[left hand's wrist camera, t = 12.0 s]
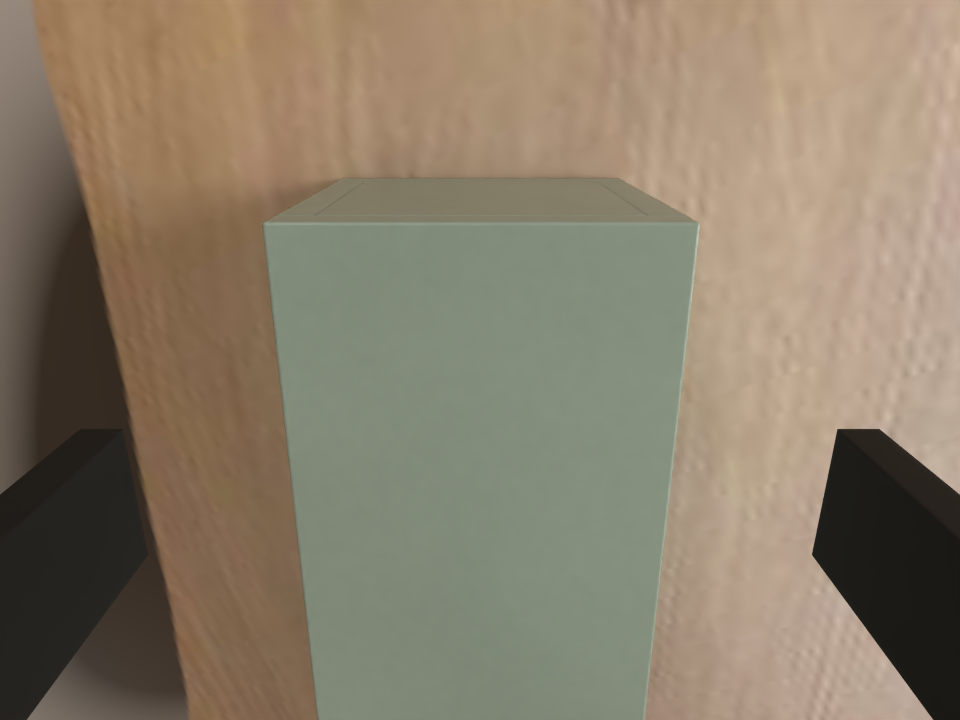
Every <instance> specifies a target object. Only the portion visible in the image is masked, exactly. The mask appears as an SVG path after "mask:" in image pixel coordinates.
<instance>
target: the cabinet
mask: <svg viewBox="0 0 960 720" xmlns="http://www.w3.org/2000/svg"><path fill="white" fill-rule="evenodd" d="M699 229H700V224H699V222H697V221H695V220H693V219H692V218H690V217H688V216H687V215H685V214H683V213H681V212H679V211H678V210H676V209H674V208H672V207H670V206H669V205H667V204H665V203H663V202H661V201H659V200H658V199H656V198H654V197H652V196H650V195H648V194H647V193H645V192H643V191H641V190H639V189H637V188H636V187H634V186H632V185H630V184H628V183H627V182H625V181H623V180H622V179H620V178H342V179H340V180H338V181H337V182H336V183H334V184H332V185H330V186H329V187H327V188H325V189H323V190H321V191H319V192H318V193H316V194H314V195H312V196H310V197H309V198H307V199H305V200H303V201H301V202H300V203H298V204H296V205H294V206H292V207H291V208H289V209H287V210H285V211H283V212H281V213H280V214H278V215H276V216H275V217H273V218H271V219H269V220H267V221H265V222H264V223H263V234H264V243H265V252H266V261H267V270H268V279H269V288H270V297H271V306H272V315H273V324H274V333H275V342H276V351H277V360H278V369H279V378H280V387H281V396H282V405H283V414H284V423H285V432H286V441H287V450H288V459H289V468H290V477H291V486H292V495H293V504H294V513H295V522H296V531H297V540H298V549H299V558H300V567H301V576H302V585H303V594H304V603H305V612H306V620H307V629H308V638H309V647H310V656H311V665H312V674H313V683H314V692H315V701H316V710H317V719H318V720H644V718H645V710H646V701H647V692H648V683H649V674H650V665H651V656H652V647H653V638H654V629H655V621H656V612H657V603H658V594H659V585H660V576H661V567H662V558H663V549H664V541H665V532H666V523H667V514H668V505H669V496H670V487H671V478H672V469H673V461H674V452H675V443H676V434H677V425H678V416H679V407H680V398H681V389H682V380H683V372H684V363H685V354H686V345H687V336H688V327H689V318H690V309H691V300H692V292H693V283H694V274H695V265H696V256H697V247H698V238H699Z"/></svg>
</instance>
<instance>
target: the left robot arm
mask: <svg viewBox="0 0 960 720" xmlns="http://www.w3.org/2000/svg"><path fill="white" fill-rule="evenodd" d="M147 555H148V552H147V548H146V543H145V538H144V533H143V528H142V523H141V518H140V513H139V508H138V503H137V498H136V493H135V489H134V484H133V479H132V474H131V469H130V464H129V459H128V454H127V449H126V444H125V439H124V434H123V430H122V429H80V430H79V431H78V432H77V433H75V434H74V435H73V436H72V437H70V438H69V439H68V440H67V441H65V442H64V443H63V444H62V445H61V446H59V447H58V448H57V449H56V450H54V451H53V452H52V453H51V454H50V455H48V456H47V457H46V458H45V459H43V460H42V461H41V462H40V463H39V464H37V465H36V466H35V467H34V468H32V469H31V470H30V471H29V472H27V473H26V474H25V475H24V476H23V477H21V478H20V479H19V480H18V481H17V482H15V483H14V484H13V485H12V486H10V487H9V488H8V489H7V490H5V491H4V492H3V493H2V494H0V720H27V718H28V717H29V716H30V714H31V713H32V712H33V710H34V709H35V708H36V706H37V705H38V704H39V702H40V701H41V699H42V698H43V697H44V695H45V694H46V693H47V691H48V690H49V689H50V687H51V686H52V685H53V683H54V682H55V680H56V679H57V678H58V676H59V675H60V674H61V672H62V671H63V670H64V668H65V667H66V665H67V664H68V663H69V661H70V660H71V659H72V657H73V656H74V655H75V653H76V652H77V651H78V649H79V648H80V647H81V645H82V644H83V642H84V641H85V640H86V638H87V637H88V636H89V634H90V633H91V632H92V630H93V629H94V627H95V626H96V625H97V623H98V622H99V621H100V619H101V618H102V617H103V615H104V614H105V612H106V611H107V610H108V608H109V607H110V606H111V604H112V603H113V602H114V600H115V599H116V598H117V596H118V595H119V593H120V592H121V591H122V589H123V588H124V587H125V585H126V584H127V583H128V581H129V580H130V579H131V577H132V576H133V574H134V573H135V572H136V570H137V569H138V568H139V566H140V565H141V564H142V562H143V561H144V560H145V558H146V557H147ZM812 555H813V557H814V558H815V560H816V561H817V562H818V564H819V565H820V566H821V568H822V569H823V570H824V572H825V573H826V574H827V576H828V577H829V579H830V580H831V581H832V583H833V584H834V585H835V587H836V588H837V589H838V591H839V592H840V593H841V595H842V596H843V598H844V599H845V600H846V602H847V603H848V604H849V606H850V607H851V608H852V610H853V611H854V613H855V614H856V615H857V617H858V618H859V619H860V621H861V622H862V623H863V625H864V626H865V627H866V629H867V630H868V632H869V633H870V634H871V636H872V637H873V638H874V640H875V641H876V642H877V644H878V645H879V647H880V648H881V649H882V651H883V652H884V653H885V655H886V656H887V657H888V659H889V660H890V661H891V663H892V664H893V666H894V667H895V668H896V670H897V671H898V672H899V674H900V675H901V676H902V678H903V679H904V680H905V682H906V683H907V685H908V686H909V687H910V689H911V690H912V691H913V693H914V694H915V695H916V697H917V698H918V700H919V701H920V702H921V704H922V705H923V706H924V708H925V709H926V710H927V712H928V713H929V714H930V716H931V717H932V719H933V720H960V494H958V493H957V492H956V491H955V490H953V489H952V488H951V487H950V486H948V485H947V484H946V483H945V482H944V481H942V480H941V479H940V478H939V477H937V476H936V475H935V474H934V473H933V472H931V471H930V470H929V469H928V468H926V467H925V466H924V465H923V464H921V463H920V462H919V461H918V460H917V459H915V458H914V457H913V456H912V455H910V454H909V453H908V452H907V451H906V450H904V449H903V448H902V447H901V446H899V445H898V444H897V443H896V442H895V441H893V440H892V439H891V438H890V437H888V436H887V435H886V434H885V433H883V432H882V431H881V430H880V429H838V430H837V434H836V439H835V444H834V449H833V454H832V459H831V464H830V469H829V474H828V479H827V484H826V489H825V493H824V498H823V503H822V508H821V513H820V518H819V523H818V528H817V533H816V538H815V543H814V548H813V552H812Z"/></svg>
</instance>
